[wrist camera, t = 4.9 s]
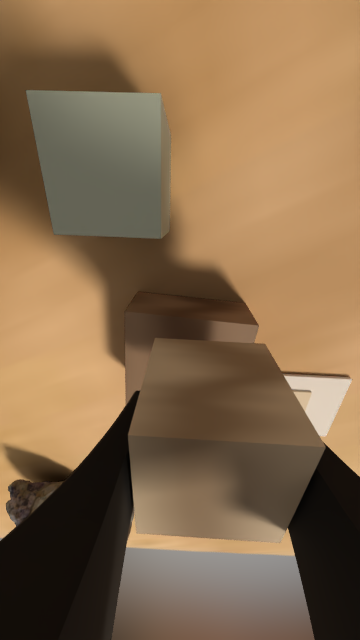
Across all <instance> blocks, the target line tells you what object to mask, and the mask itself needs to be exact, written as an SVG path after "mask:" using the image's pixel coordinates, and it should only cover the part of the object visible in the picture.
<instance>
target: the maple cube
mask: <svg viewBox="0 0 360 640" xmlns="http://www.w3.org/2000/svg"><path fill="white" fill-rule="evenodd" d="M128 442H129V454H130V466H131V477H132V489H133V501H134V513H135V524H136V533H139V534H153V535H168V536H183V537H197V538H212V539H226V540H241V541H256V542H270V543H280V542H281V540H282V538H283V536H284V534H285V532H286V530H287V528H288V526H289V524H290V521H291V519H292V517H293V515H294V513H295V511H296V509H297V507H298V505H299V503H300V500H301V498H302V496H303V494H304V492H305V490H306V488H307V486H308V484H309V482H310V479H311V477H312V475H313V473H314V471H315V469H316V467H317V465H318V463H319V461H320V458H321V456H322V454H323V452H324V450H325V448H326V447H325V445H324V443H323V442H322V440H321V438H320V436H319V435H318V433H317V431H316V430H315V428H314V426H313V425H312V423H311V421H310V419H309V418H308V416H307V414H306V413H305V411H304V409H303V408H302V406H301V404H300V402H299V401H298V399H297V397H296V396H295V394H294V392H293V391H292V389H291V387H290V385H289V384H288V382H287V380H286V379H285V377H284V375H283V374H282V372H281V370H280V368H279V367H278V365H277V363H276V362H275V360H274V358H273V357H272V355H271V353H270V351H269V350H268V348H267V346H266V345H265V344H258V343H240V342H221V341H203V340H184V339H166V338H155V340H154V343H153V347H152V351H151V354H150V358H149V361H148V365H147V368H146V372H145V376H144V379H143V383H142V386H141V390H140V394H139V397H138V401H137V404H136V408H135V411H134V415H133V419H132V422H131V426H130V429H129V433H128Z"/></svg>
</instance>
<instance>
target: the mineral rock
mask: <svg viewBox="0 0 360 640" xmlns="http://www.w3.org/2000/svg"><path fill="white" fill-rule="evenodd" d="M63 482H64V481H61V482H50V481H44V482H34V483H31V482H30V481H25V480H16V481H14V482H13V483H12V484H11V485H10V486H8V491H9V492H10V497H11V500H9V501H8V502H7V503H6V510H7V512H8V514H9V516H10V519H11V520H12V521H13V522H15V524H16V527H17V526H18V525H19V524H20V523H21V522H22V521H23V520H24V519H25V518H27V517H28V516H29V515H30V514H31V513H32V512H33V511H34V510H35V509H36V508H37V507H38V506H40V505H41V504H42V503H43V502H44V501H45V500H46V499H47V498H48V497H49V496H50V495H51V494H52V493H53V492H54V491H55V490H56V489H57V488H58V487H59V486H60V485H61V484H62V483H63ZM133 518H134V507H133V511H132V516H131V521H130V526H129V532H128V537H129V534H130V531H131V526H132V520H133ZM127 540H128V538H127Z"/></svg>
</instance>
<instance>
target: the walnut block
mask: <svg viewBox="0 0 360 640" xmlns="http://www.w3.org/2000/svg"><path fill="white" fill-rule="evenodd" d="M258 327H259V325H258V323H257V322H256V320H255V318H254V317H253V315H252V313H251V312H250V310H249V308H248V307H247V305H246V304H245V303H240V302H231V301H221V300H212V299H202V298H193V297H183V296H174V295H164V294H155V293H145V292H137V294H136V295H135V297H134V298H133V300H132V301H131V303H130V304H129V306H128V307H127V309H126V310H125V383H126V405H127V403H128V402H129V400H130V398H131V397H132V395H133V393H134V392H135V391H137V390H138V391H140V390H141V386H142V383H143V379H144V376H145V372H146V368H147V365H148V361H149V358H150V354H151V351H152V347H153V343H154V340H155V338H166V339H184V340H203V341H221V342H240V343H254V342H255V338H256V334H257V331H258Z"/></svg>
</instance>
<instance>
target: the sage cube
mask: <svg viewBox="0 0 360 640" xmlns="http://www.w3.org/2000/svg"><path fill="white" fill-rule="evenodd" d="M26 94H27V99H28V105H29V110H30V115H31V120H32V125H33V130H34V135H35V140H36V146H37V151H38V156H39V161H40V166H41V171H42V176H43V181H44V187H45V192H46V197H47V202H48V207H49V212H50V217H51V222H52V228H53V233H54V234H55V235H80V236H105V237H130V238H155V239H161V238H163V237H164V236H165V235H166V234H167V233H168V232H169V231H170V183H171V133H170V129H169V125H168V121H167V117H166V113H165V109H164V105H163V101H162V97H161V93H127V92H87V91H47V90H26Z"/></svg>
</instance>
